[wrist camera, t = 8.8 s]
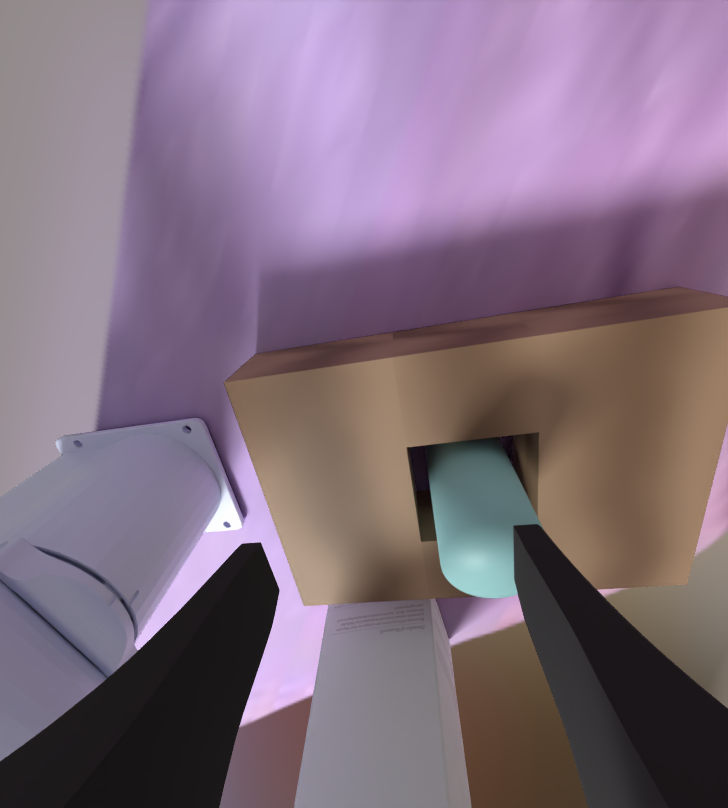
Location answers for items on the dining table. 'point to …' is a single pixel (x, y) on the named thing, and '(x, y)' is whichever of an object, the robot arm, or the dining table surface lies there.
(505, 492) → the peg
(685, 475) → the socket block
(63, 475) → the robot arm
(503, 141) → the dining table surface
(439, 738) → the supplement box
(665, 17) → the dining table surface
